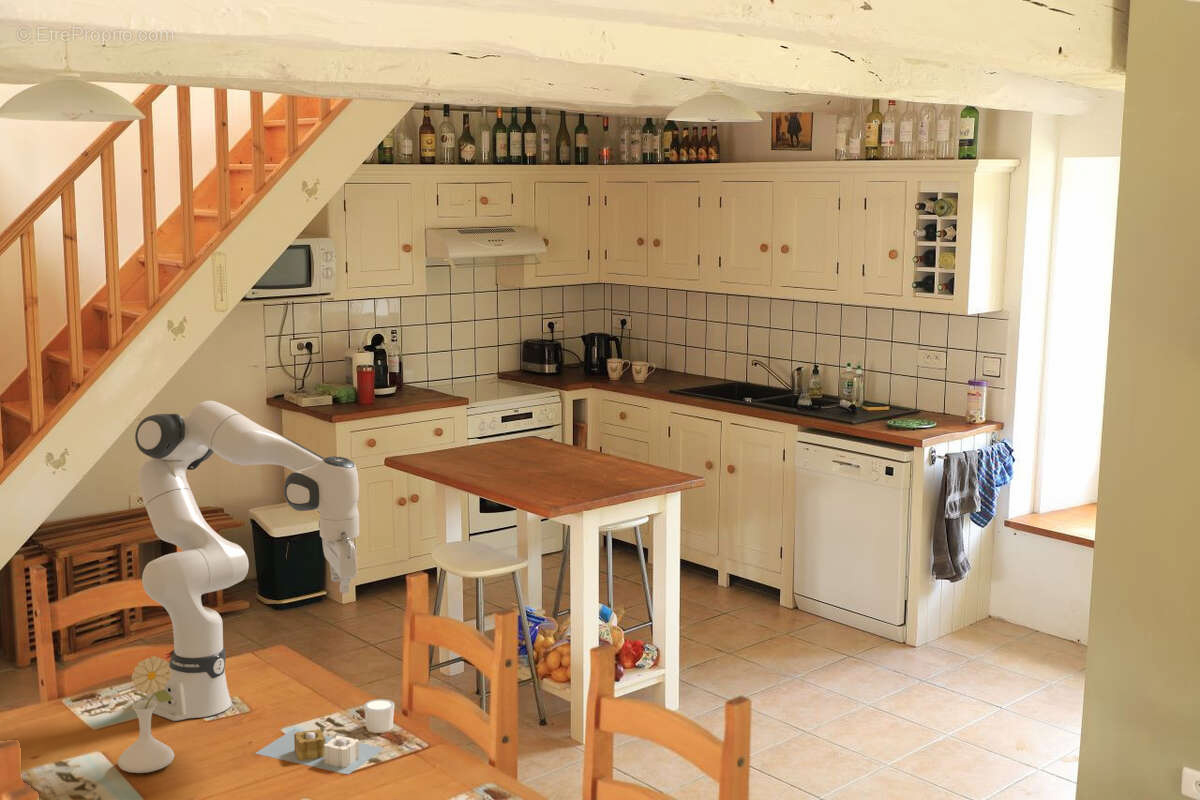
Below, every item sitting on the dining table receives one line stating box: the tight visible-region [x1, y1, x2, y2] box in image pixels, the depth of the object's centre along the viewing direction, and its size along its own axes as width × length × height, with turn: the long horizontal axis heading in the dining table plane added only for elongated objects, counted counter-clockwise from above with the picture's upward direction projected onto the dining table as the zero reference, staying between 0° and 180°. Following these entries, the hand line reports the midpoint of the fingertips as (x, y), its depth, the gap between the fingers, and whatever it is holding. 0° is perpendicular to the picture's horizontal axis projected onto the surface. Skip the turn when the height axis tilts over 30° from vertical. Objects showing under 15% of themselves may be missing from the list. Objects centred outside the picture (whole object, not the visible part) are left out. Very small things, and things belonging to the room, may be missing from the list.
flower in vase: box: [117, 655, 175, 774], centre depth 253 cm, size 13×11×25 cm
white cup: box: [363, 698, 396, 734], centre depth 273 cm, size 7×7×7 cm
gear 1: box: [294, 728, 325, 760], centre depth 259 cm, size 7×7×4 cm
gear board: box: [254, 728, 385, 775], centre depth 261 cm, size 24×14×6 cm, turn 68°
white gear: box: [324, 735, 360, 768], centre depth 256 cm, size 7×7×4 cm
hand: (340, 586), depth 274 cm, fingers open, 8 cm apart
